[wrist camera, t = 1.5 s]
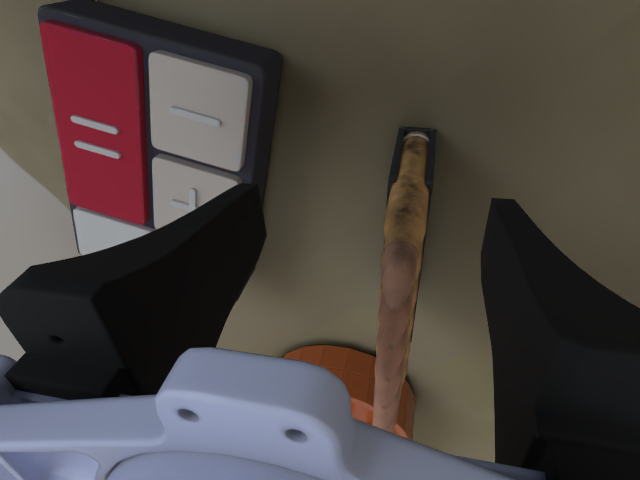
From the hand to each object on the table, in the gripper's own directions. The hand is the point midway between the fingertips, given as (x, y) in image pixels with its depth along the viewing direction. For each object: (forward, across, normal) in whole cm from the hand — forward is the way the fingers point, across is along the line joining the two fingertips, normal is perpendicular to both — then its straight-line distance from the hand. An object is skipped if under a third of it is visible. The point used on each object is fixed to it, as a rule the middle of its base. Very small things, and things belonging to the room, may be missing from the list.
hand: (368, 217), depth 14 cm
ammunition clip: (+10, -1, +7) cm, 12 cm away
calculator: (+10, +13, +3) cm, 17 cm away
